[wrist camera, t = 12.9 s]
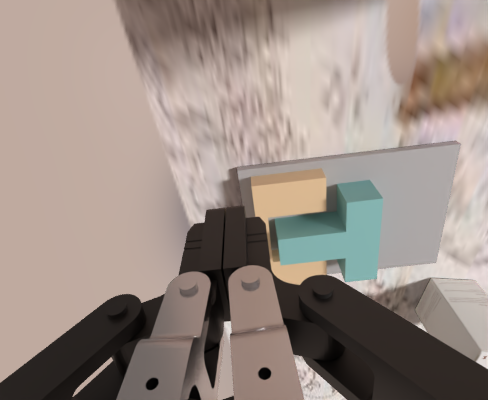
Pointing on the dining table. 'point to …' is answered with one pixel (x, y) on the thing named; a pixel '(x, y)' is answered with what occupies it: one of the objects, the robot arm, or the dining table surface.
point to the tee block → (337, 233)
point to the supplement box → (457, 316)
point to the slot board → (351, 170)
